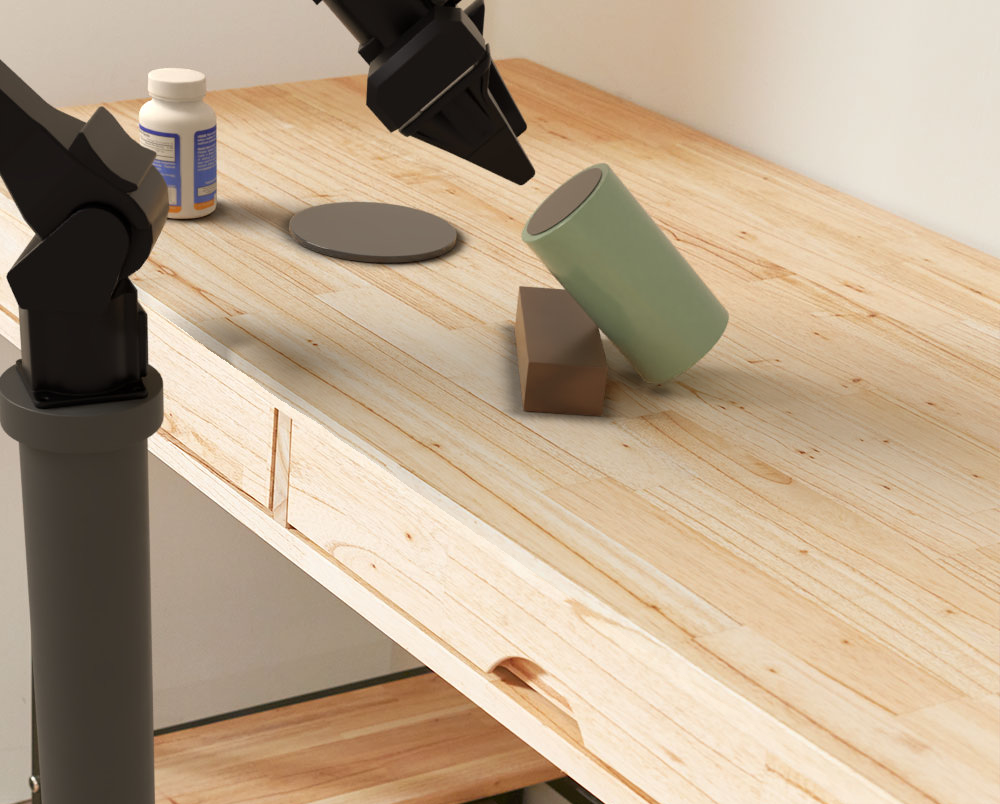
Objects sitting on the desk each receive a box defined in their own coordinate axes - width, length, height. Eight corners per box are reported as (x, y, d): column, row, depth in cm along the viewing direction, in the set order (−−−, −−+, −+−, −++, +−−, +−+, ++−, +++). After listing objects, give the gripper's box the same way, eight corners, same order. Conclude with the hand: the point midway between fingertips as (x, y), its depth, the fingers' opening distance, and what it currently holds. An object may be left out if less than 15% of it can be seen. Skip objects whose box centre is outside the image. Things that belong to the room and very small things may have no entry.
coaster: (323, 268, 104) (323, 261, 104) (266, 212, 113) (266, 206, 113) (483, 256, 109) (483, 250, 109) (416, 203, 118) (417, 197, 118)
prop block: (523, 411, 87) (528, 361, 85) (514, 330, 97) (519, 285, 96) (602, 416, 87) (608, 367, 86) (584, 335, 97) (590, 290, 96)
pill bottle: (205, 195, 115) (204, 64, 111) (226, 218, 111) (226, 82, 107) (132, 199, 113) (129, 65, 109) (151, 222, 109) (148, 84, 104)
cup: (510, 389, 89) (531, 176, 83) (506, 346, 95) (526, 144, 89) (724, 404, 90) (761, 194, 84) (708, 360, 96) (741, 161, 90)
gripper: (452, -162, 69) (661, 103, 75) (451, -195, 86) (622, 25, 92) (273, 3, 72) (486, 245, 78) (304, -59, 89) (479, 145, 95)
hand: (525, 155), depth 86 cm, fingers open, 9 cm apart
